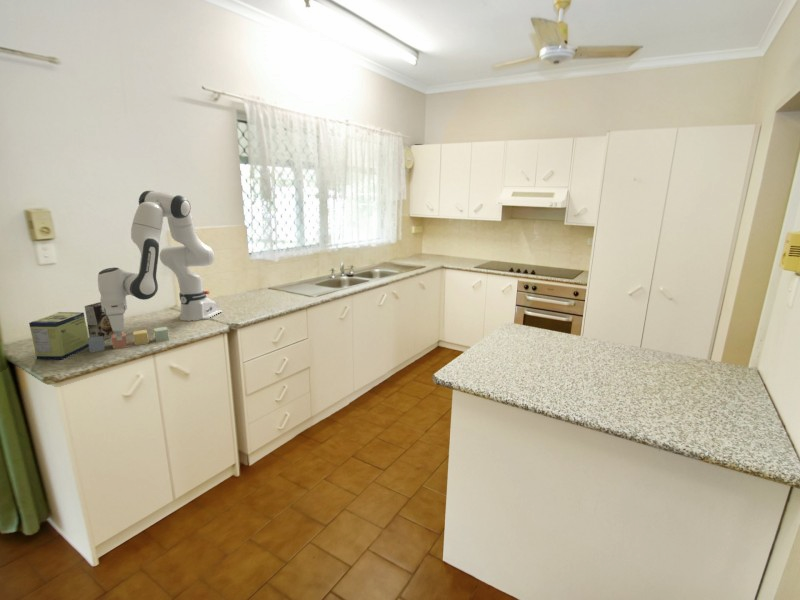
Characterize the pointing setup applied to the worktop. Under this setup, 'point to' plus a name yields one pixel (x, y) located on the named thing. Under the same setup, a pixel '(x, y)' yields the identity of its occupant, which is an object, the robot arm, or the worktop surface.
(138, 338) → the ochre block
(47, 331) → the protein box
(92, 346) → the slate block
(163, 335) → the sage block
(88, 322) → the coffee box
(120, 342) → the terracotta block
